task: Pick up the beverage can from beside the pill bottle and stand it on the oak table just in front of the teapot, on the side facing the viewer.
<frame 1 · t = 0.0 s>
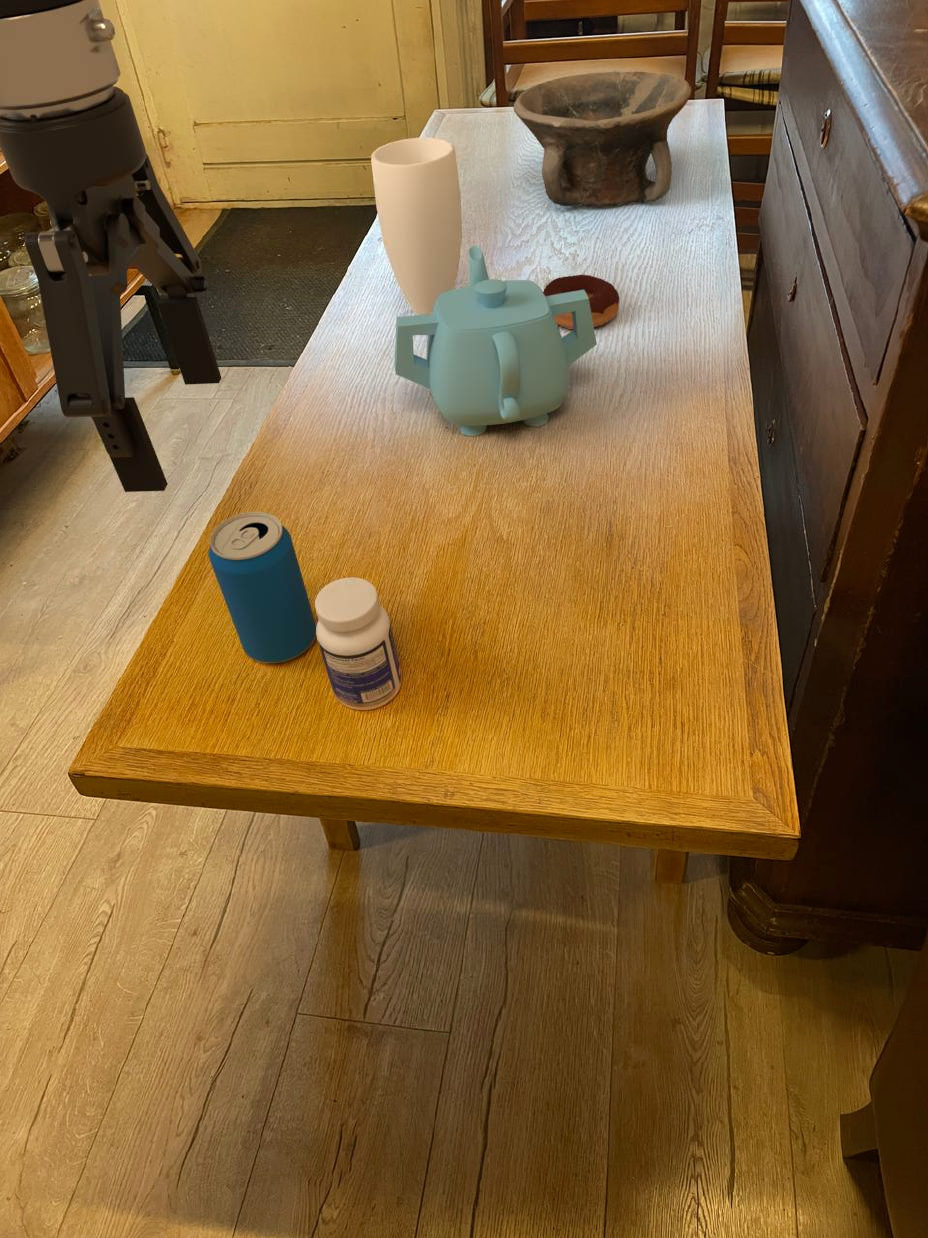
hand: (177, 431, 63), 21 cm above the table, tool pointing down, fingers open, 13 cm apart
cup: (433, 330, 116), on the table
beverage can: (281, 643, 77), on the table
pill bottle: (368, 687, 73), on the table
brown clay pot: (598, 195, 144), on the table
donut: (580, 316, 115), on the table
teapot: (496, 402, 102), on the table
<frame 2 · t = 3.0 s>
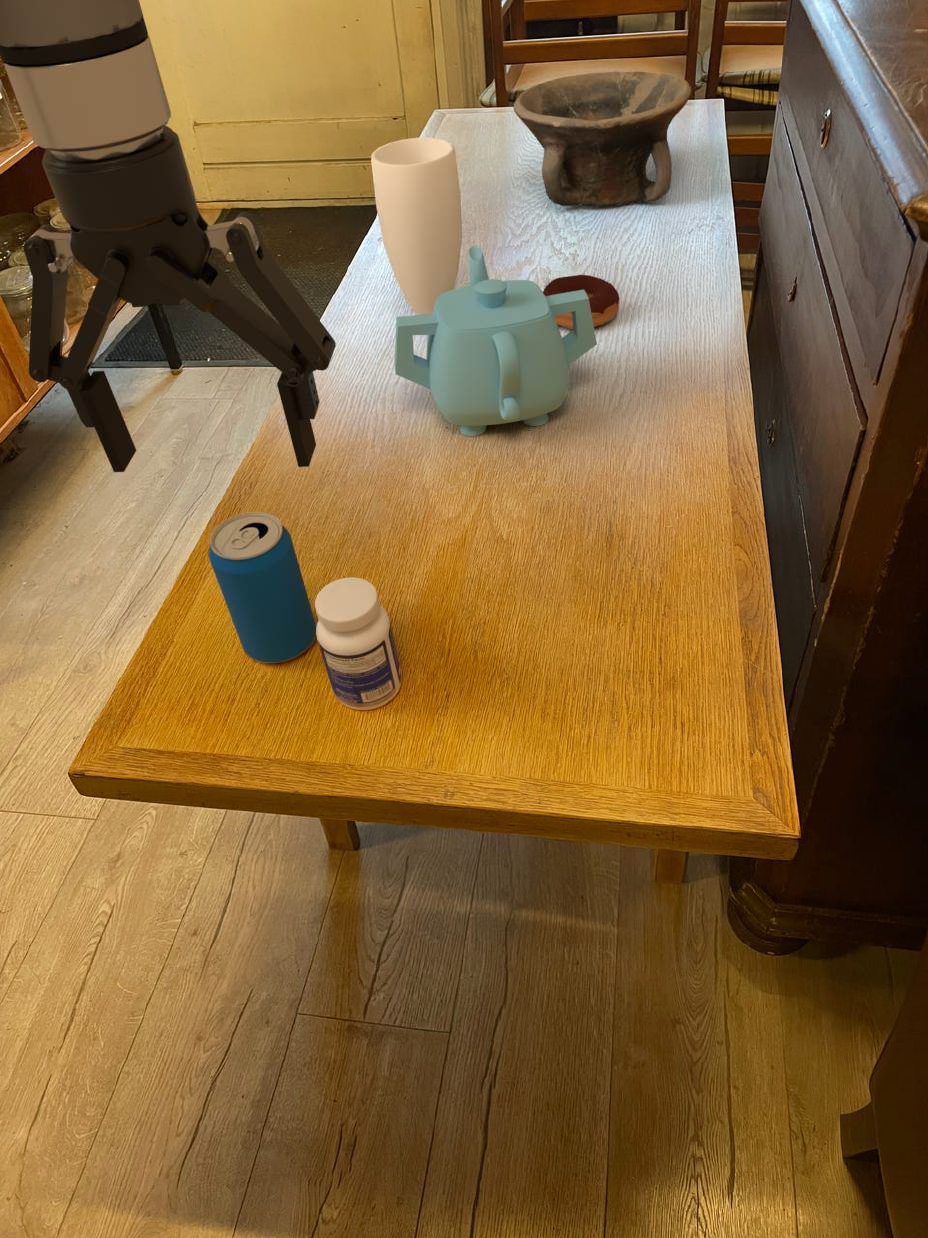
hand: (215, 459, 64), 19 cm above the table, tool pointing down, fingers open, 13 cm apart
nothing on the table moved.
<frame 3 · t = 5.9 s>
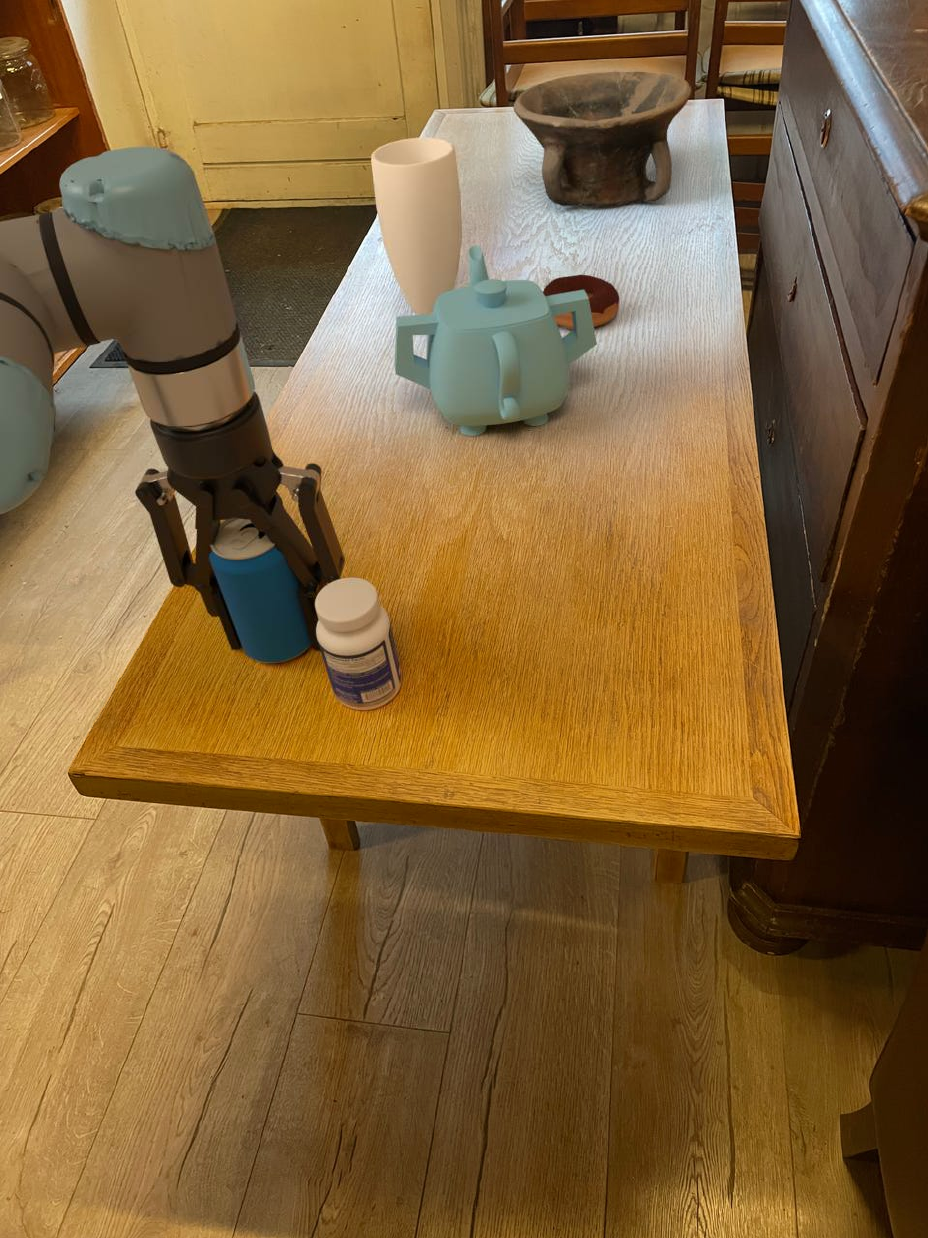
hand: (280, 637, 77), 0 cm above the table, tool pointing down, fingers closed on beverage can, 6 cm apart
beverage can: (281, 643, 77), on the table, touching gripper
everything else where it was.
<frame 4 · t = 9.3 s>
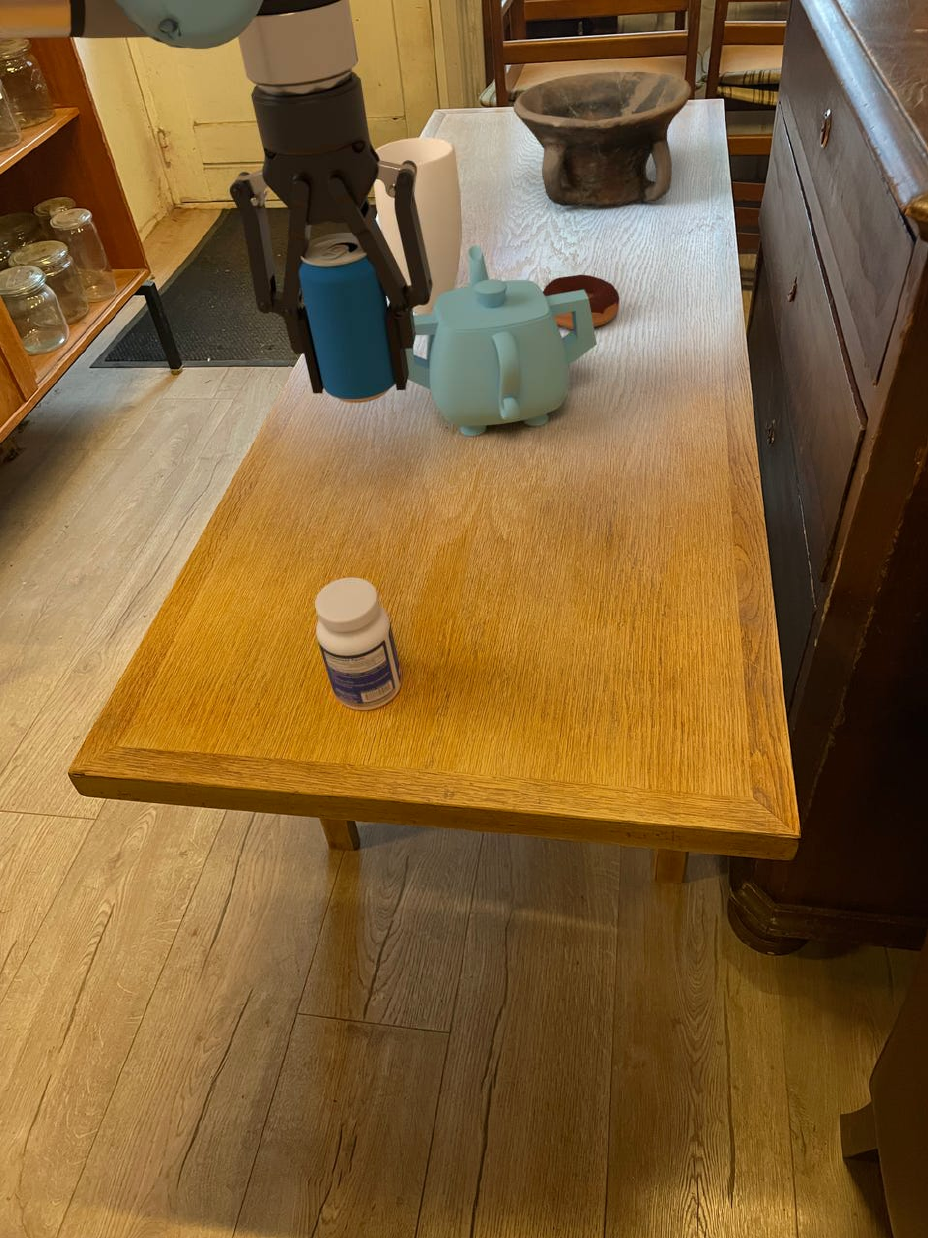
hand: (361, 382, 76), 16 cm above the table, tool pointing down, fingers closed on beverage can, 6 cm apart
beverage can: (362, 389, 76), point 15 cm above the table, touching gripper
everything else where it was.
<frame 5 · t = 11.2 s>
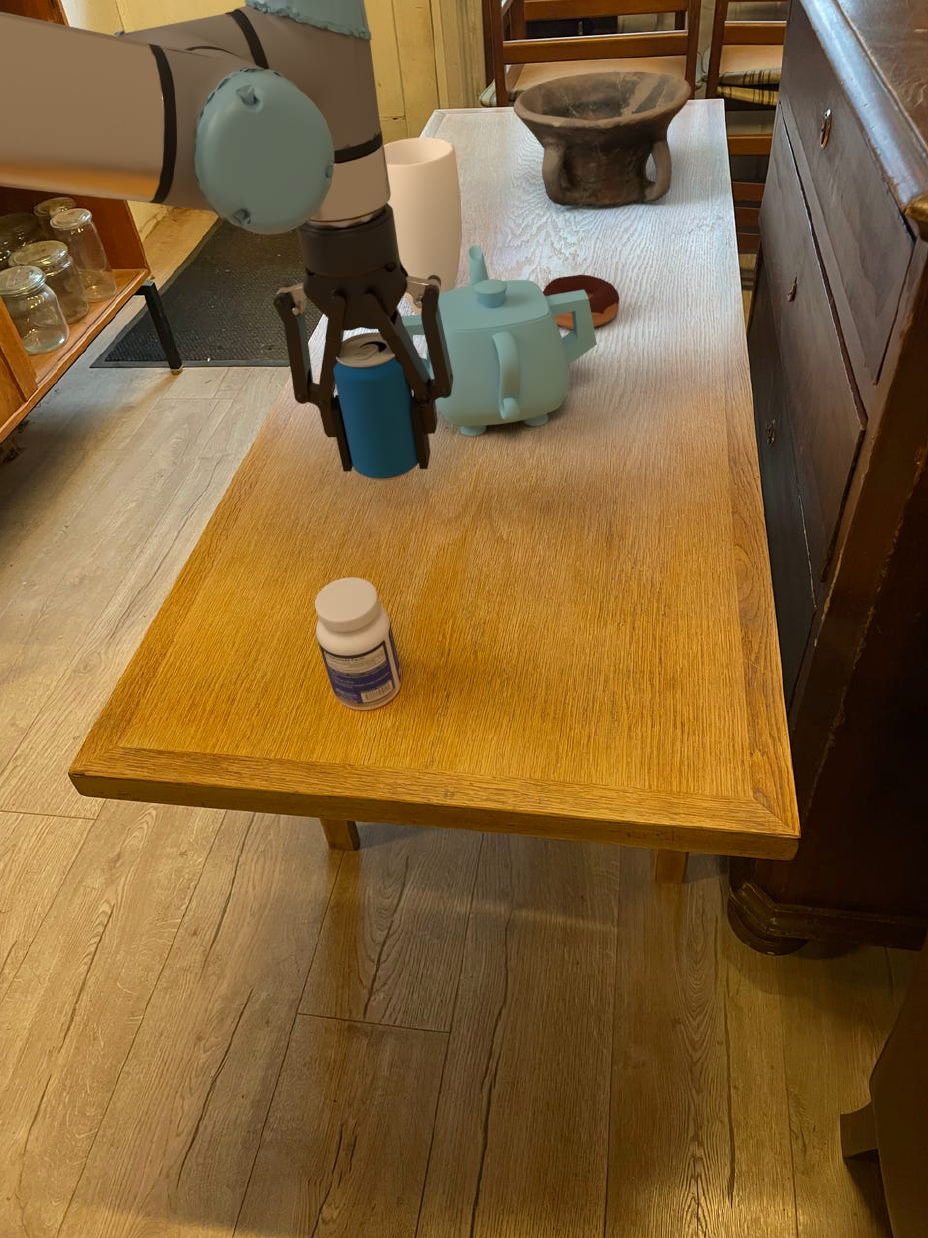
hand: (387, 461, 83), 7 cm above the table, tool pointing down, fingers closed on beverage can, 6 cm apart
beverage can: (388, 467, 84), point 6 cm above the table, touching gripper
everything else where it was.
when the fingers open (0 cm above the table, at t = 13.0 s): beverage can stays where it is, on the table.
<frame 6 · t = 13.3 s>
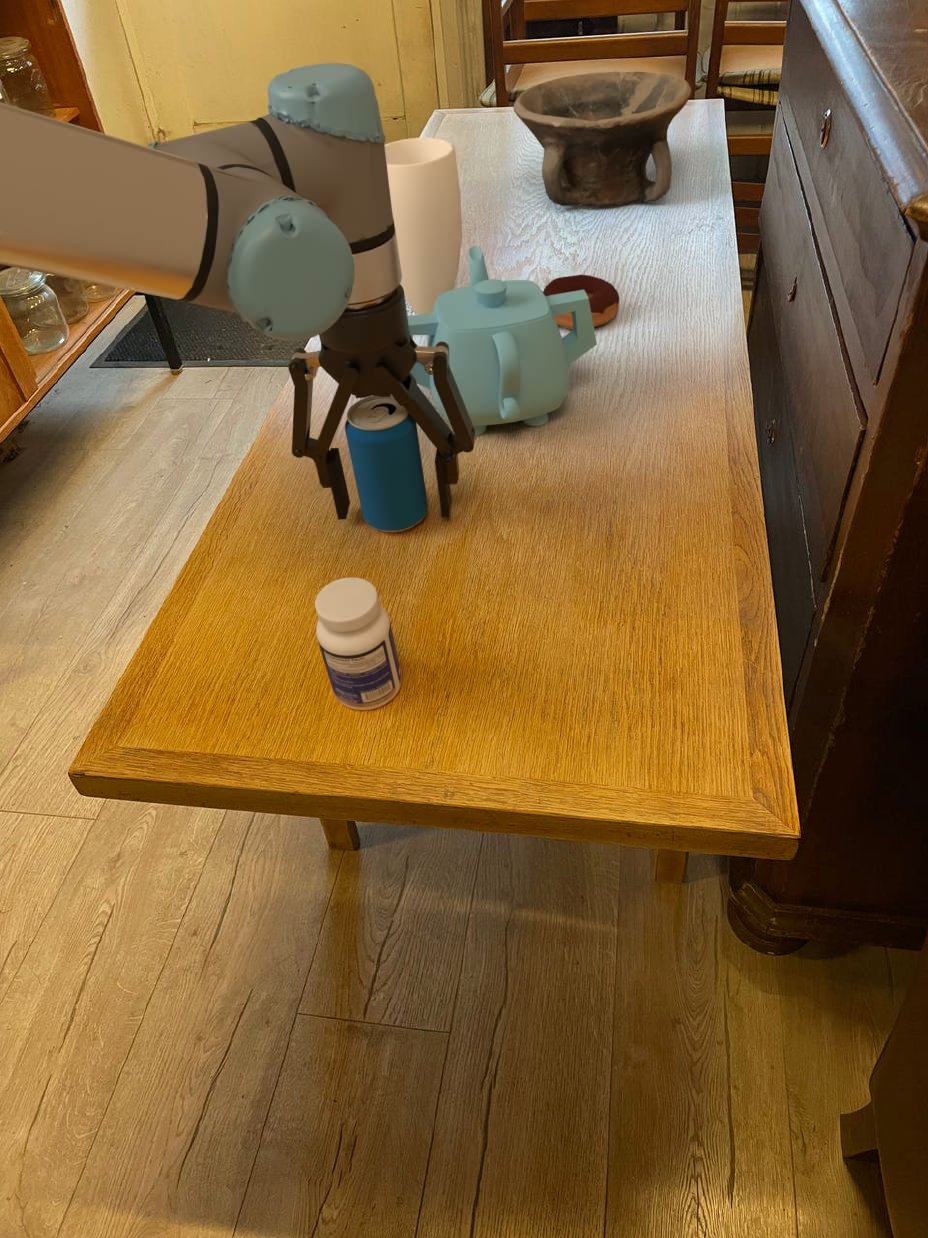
hand: (395, 509, 87), 1 cm above the table, tool pointing down, fingers open, 9 cm apart
beverage can: (396, 518, 88), on the table
everything else where it was.
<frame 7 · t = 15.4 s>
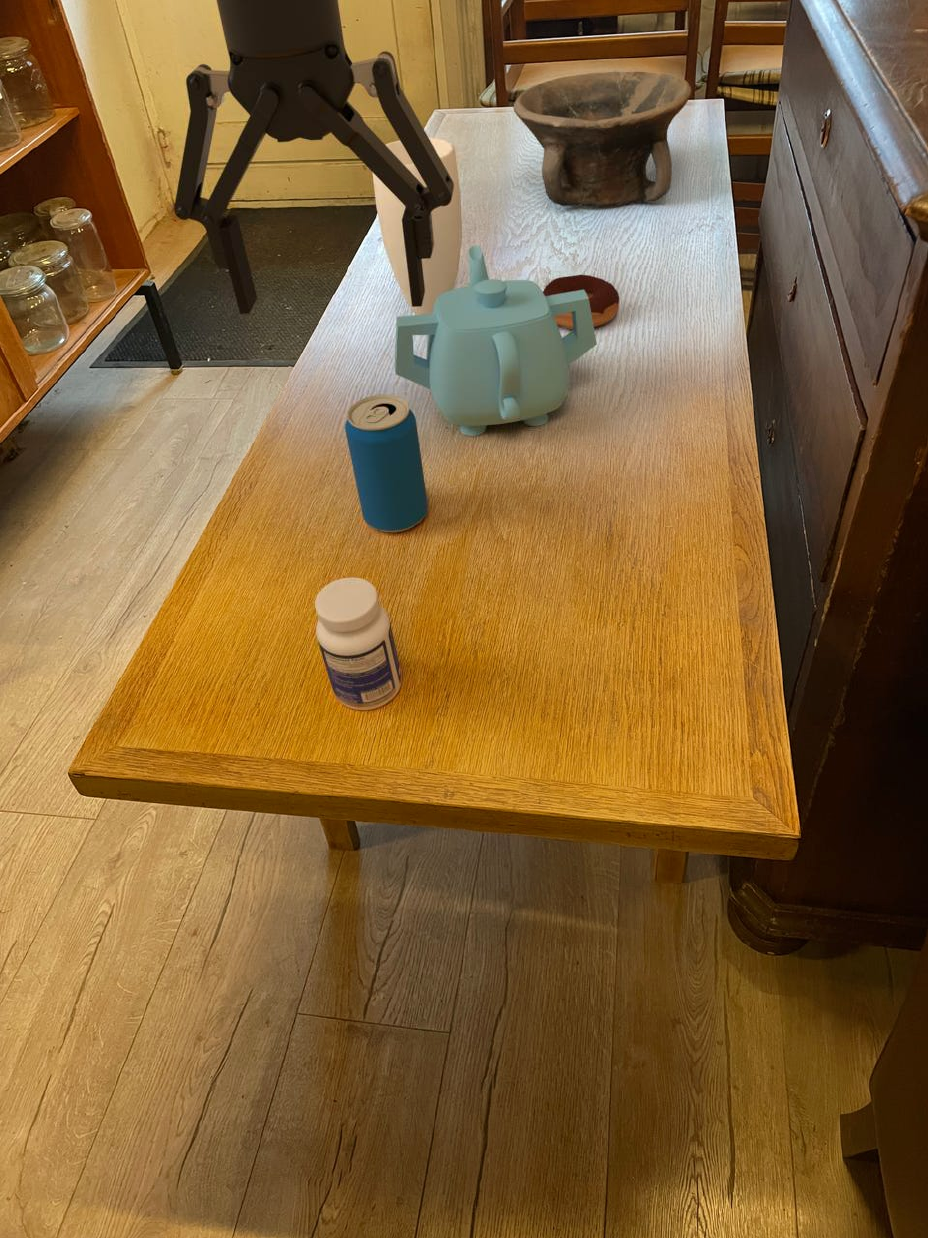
hand: (333, 302, 70), 23 cm above the table, tool pointing down, fingers open, 13 cm apart
nothing on the table moved.
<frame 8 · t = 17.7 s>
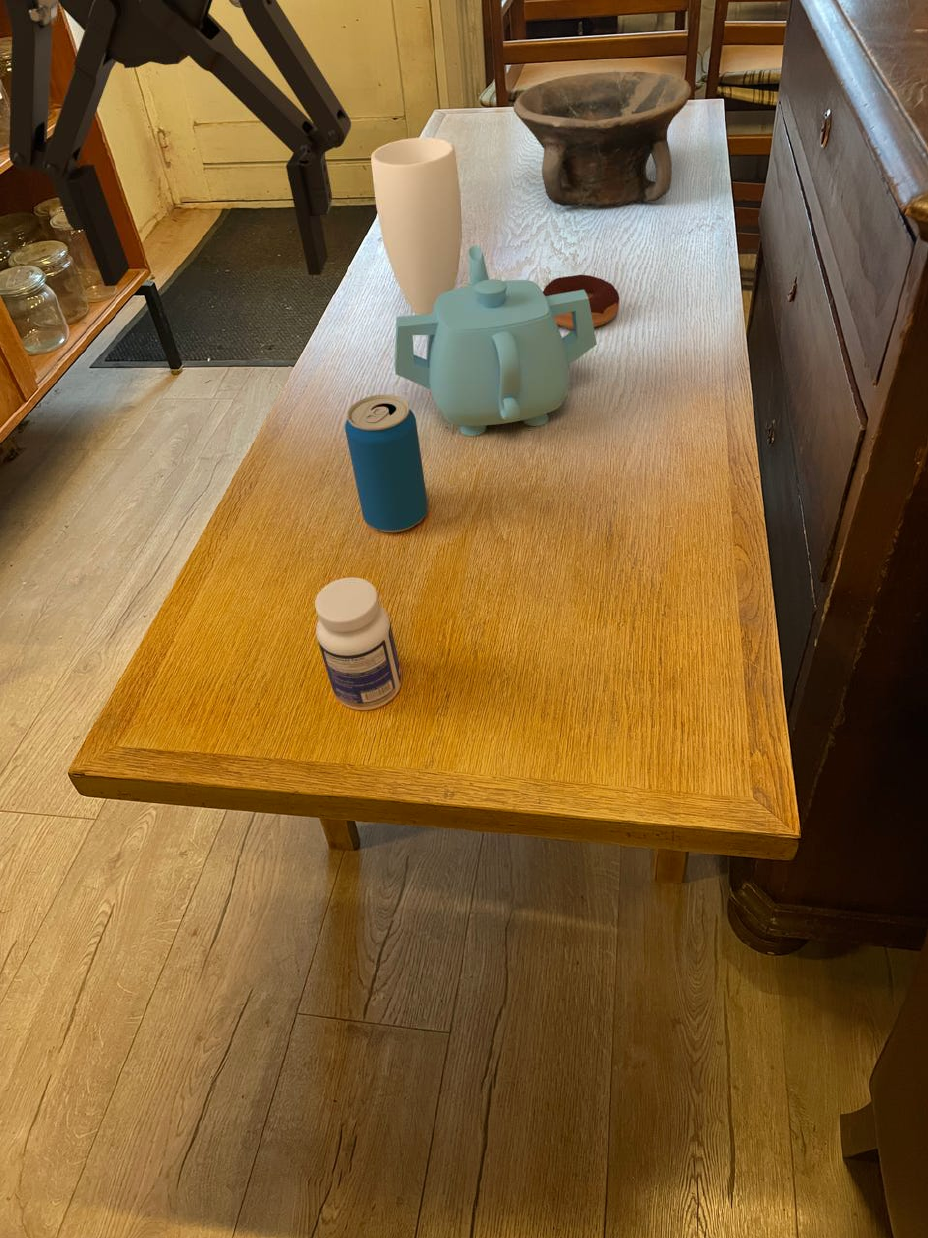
hand: (217, 272, 58), 31 cm above the table, tool pointing down, fingers open, 13 cm apart
nothing on the table moved.
at the end: beverage can inside the target area on the table beside the teapot (0.0 cm from its centre), on the table; beverage can tilted 0°; the gripper is holding nothing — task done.
